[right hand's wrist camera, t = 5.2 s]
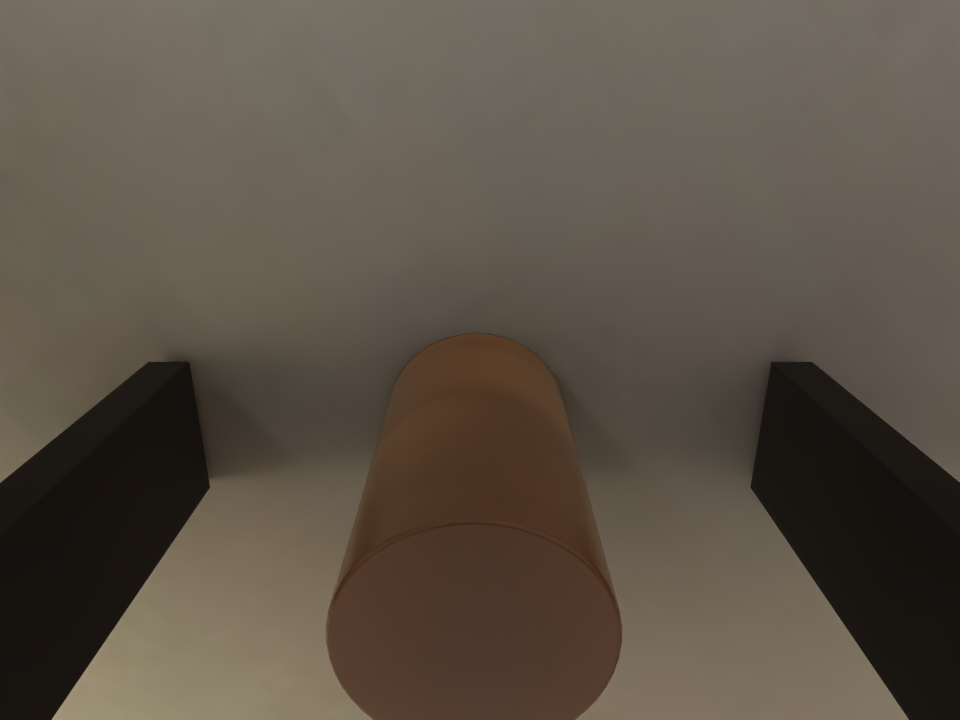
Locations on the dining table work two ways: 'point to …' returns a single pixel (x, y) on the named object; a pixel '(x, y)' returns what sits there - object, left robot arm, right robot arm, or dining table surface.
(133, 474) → the right robot arm
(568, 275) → the dining table surface
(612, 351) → the dining table surface
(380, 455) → the brown wooden cylinder
